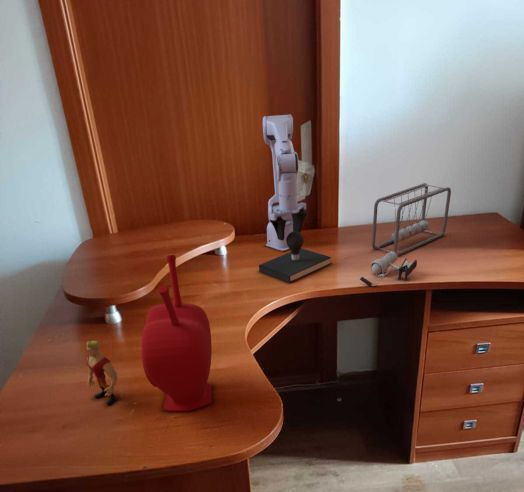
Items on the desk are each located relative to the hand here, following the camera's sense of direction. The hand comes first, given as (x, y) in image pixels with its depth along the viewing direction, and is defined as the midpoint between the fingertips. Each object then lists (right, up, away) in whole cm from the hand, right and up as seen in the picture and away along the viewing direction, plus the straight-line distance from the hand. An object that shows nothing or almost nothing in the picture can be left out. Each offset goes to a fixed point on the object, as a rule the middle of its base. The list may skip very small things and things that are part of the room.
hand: (289, 236), depth 165 cm
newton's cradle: (+44, +2, +18) cm, 48 cm away
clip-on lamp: (+30, -15, -7) cm, 34 cm away
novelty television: (-25, -47, -54) cm, 76 cm away
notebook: (+2, -10, +4) cm, 11 cm away
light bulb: (+2, -8, +3) cm, 8 cm away
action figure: (-43, -48, -53) cm, 83 cm away
